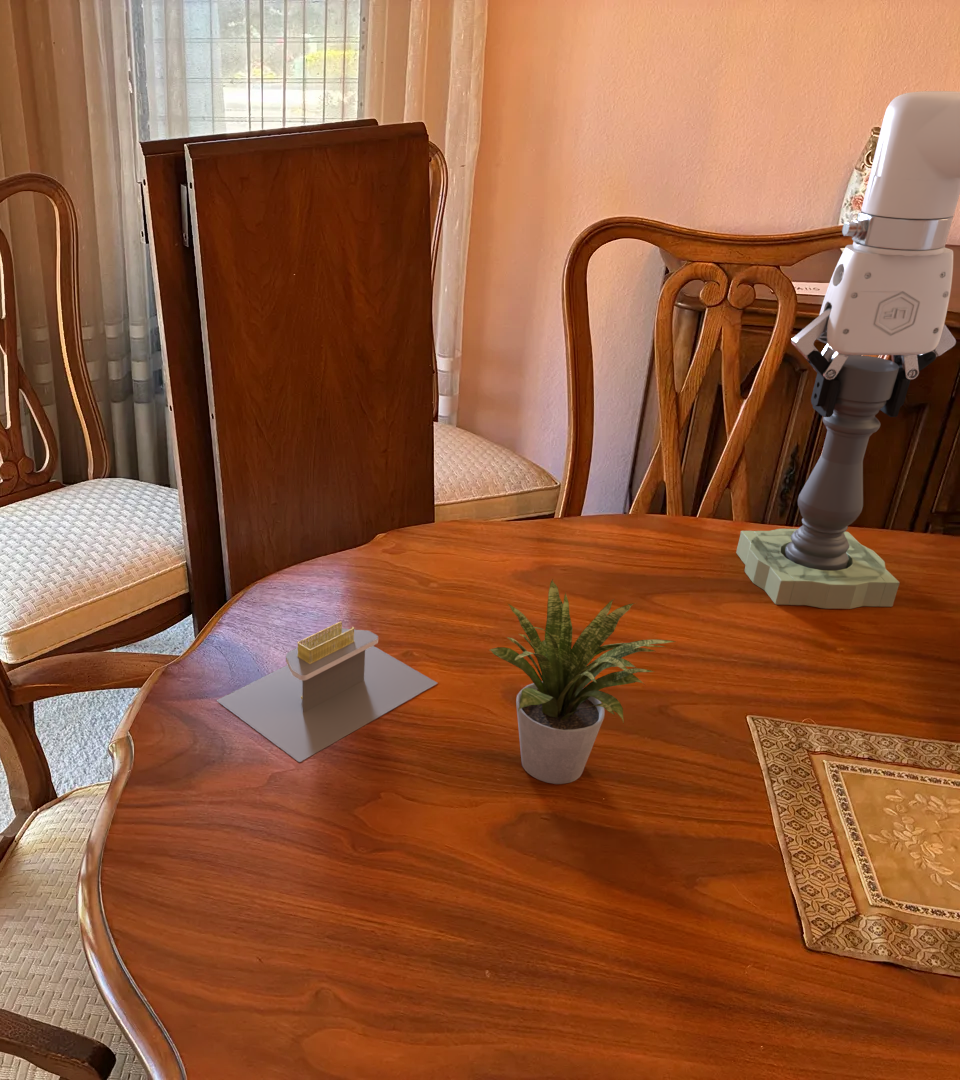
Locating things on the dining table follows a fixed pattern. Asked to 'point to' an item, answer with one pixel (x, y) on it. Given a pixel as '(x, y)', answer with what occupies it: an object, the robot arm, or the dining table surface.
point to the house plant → (568, 688)
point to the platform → (325, 691)
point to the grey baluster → (841, 465)
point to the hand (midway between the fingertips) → (854, 411)
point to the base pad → (815, 574)
